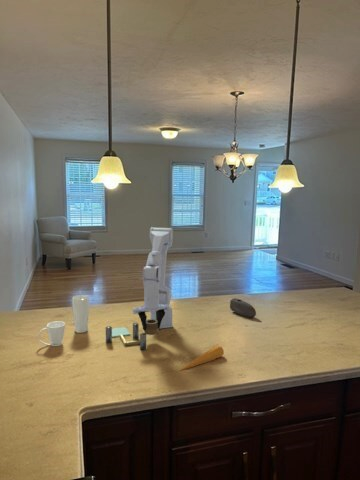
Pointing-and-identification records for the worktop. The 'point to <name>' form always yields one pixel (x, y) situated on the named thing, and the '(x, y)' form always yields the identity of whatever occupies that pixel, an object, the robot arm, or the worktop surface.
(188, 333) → the worktop surface
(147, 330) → the octagonal hollow tube
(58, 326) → the cup
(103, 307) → the worktop surface
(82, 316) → the drinking glass
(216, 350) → the carrot
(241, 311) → the perforated stone tool
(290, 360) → the worktop surface
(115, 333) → the pad
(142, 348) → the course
